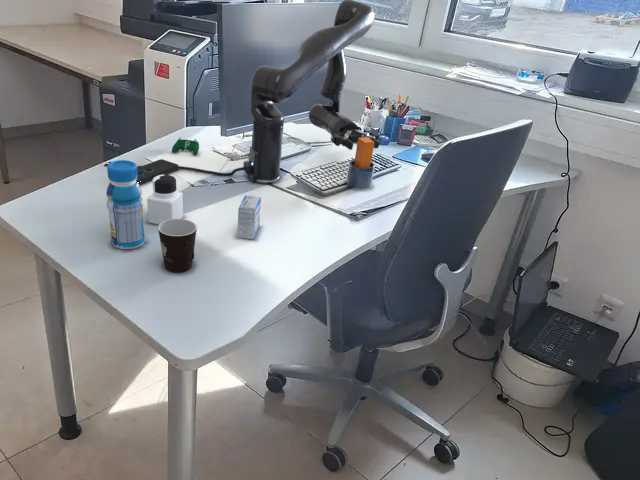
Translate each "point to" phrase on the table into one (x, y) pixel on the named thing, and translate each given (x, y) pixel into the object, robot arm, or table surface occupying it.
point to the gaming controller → (186, 145)
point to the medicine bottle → (164, 200)
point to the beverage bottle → (125, 205)
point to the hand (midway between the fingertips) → (364, 145)
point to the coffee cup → (360, 176)
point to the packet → (364, 152)
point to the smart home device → (155, 170)
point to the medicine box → (249, 217)
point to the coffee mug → (177, 244)
